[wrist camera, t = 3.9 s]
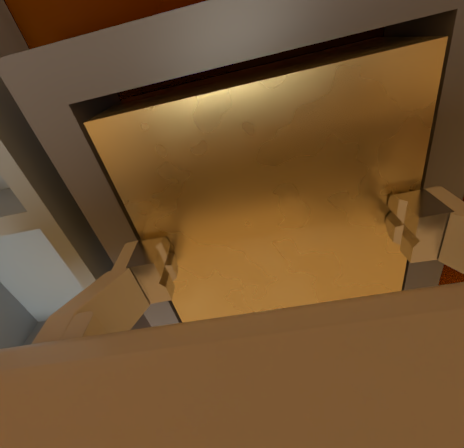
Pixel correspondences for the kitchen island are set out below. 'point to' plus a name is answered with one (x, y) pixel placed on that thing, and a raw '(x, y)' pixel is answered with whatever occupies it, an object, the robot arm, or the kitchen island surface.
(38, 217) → the tray
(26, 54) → the square frame
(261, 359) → the robot arm
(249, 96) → the button
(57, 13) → the kitchen island surface
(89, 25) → the kitchen island surface
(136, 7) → the kitchen island surface
